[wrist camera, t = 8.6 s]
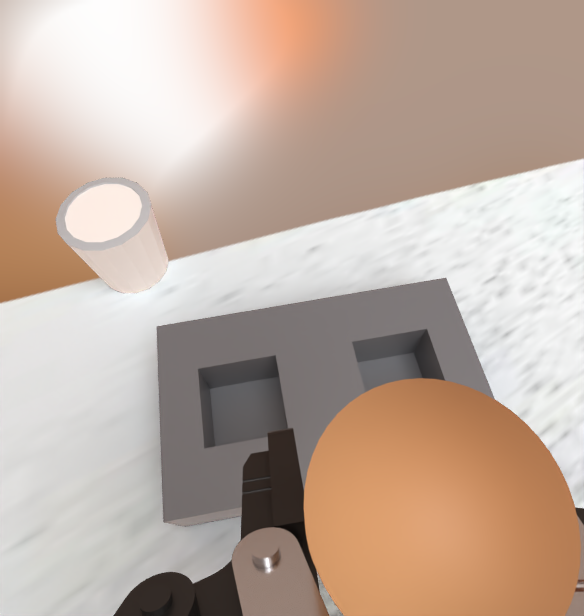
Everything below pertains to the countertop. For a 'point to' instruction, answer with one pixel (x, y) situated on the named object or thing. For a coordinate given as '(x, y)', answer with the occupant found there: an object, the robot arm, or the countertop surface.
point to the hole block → (290, 381)
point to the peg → (439, 508)
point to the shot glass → (115, 233)
